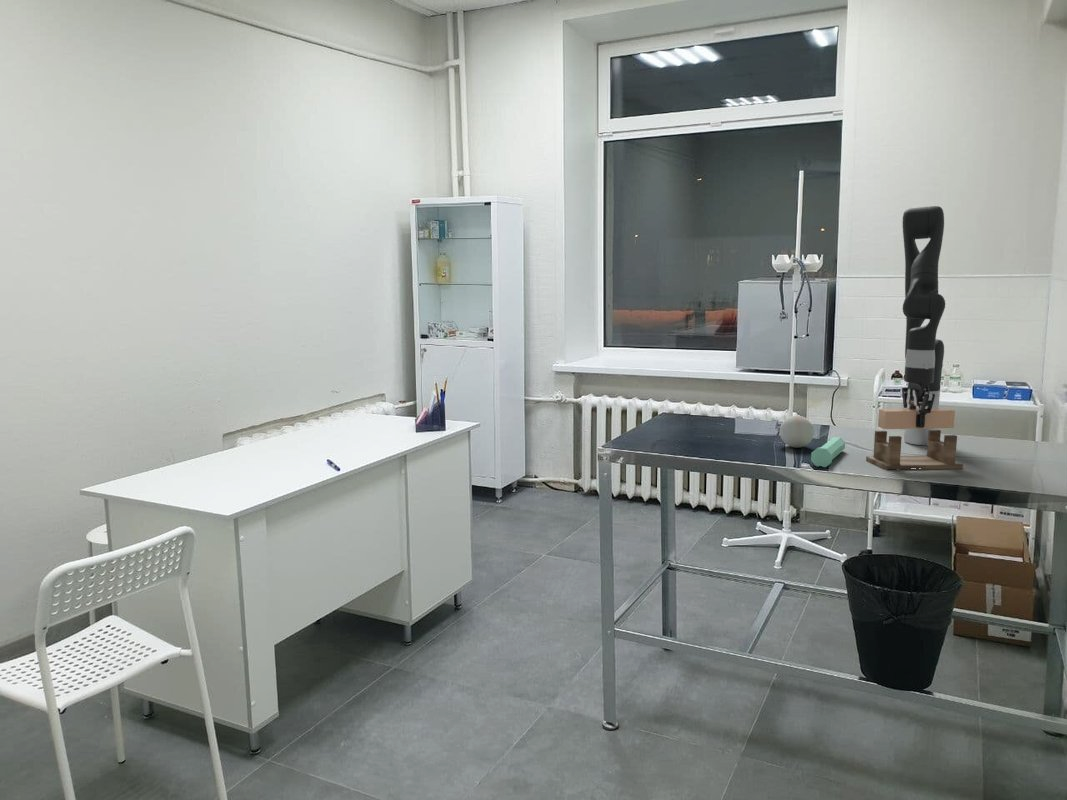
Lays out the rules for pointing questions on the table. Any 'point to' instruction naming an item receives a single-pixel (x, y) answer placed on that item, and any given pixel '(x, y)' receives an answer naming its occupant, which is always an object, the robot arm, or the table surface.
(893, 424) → the tan rectangular block
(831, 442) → the mint green octagonal prism
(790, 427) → the grey ball
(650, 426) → the table surface
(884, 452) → the rack
